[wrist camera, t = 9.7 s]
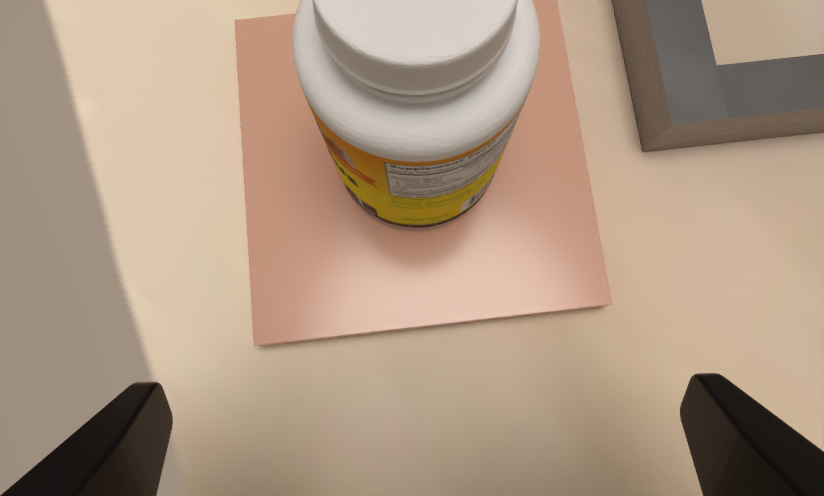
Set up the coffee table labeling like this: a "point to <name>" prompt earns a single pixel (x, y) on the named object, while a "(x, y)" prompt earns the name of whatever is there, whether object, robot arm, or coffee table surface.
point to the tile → (401, 247)
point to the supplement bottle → (416, 97)
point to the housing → (709, 82)
